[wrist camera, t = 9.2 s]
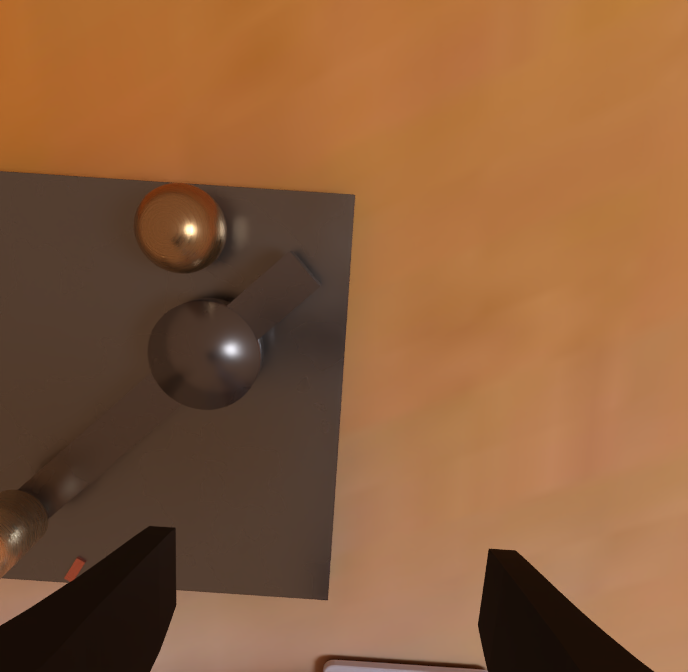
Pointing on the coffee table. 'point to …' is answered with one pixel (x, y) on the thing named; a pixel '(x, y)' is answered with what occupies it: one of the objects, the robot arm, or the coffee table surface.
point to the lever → (162, 393)
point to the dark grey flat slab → (132, 367)
